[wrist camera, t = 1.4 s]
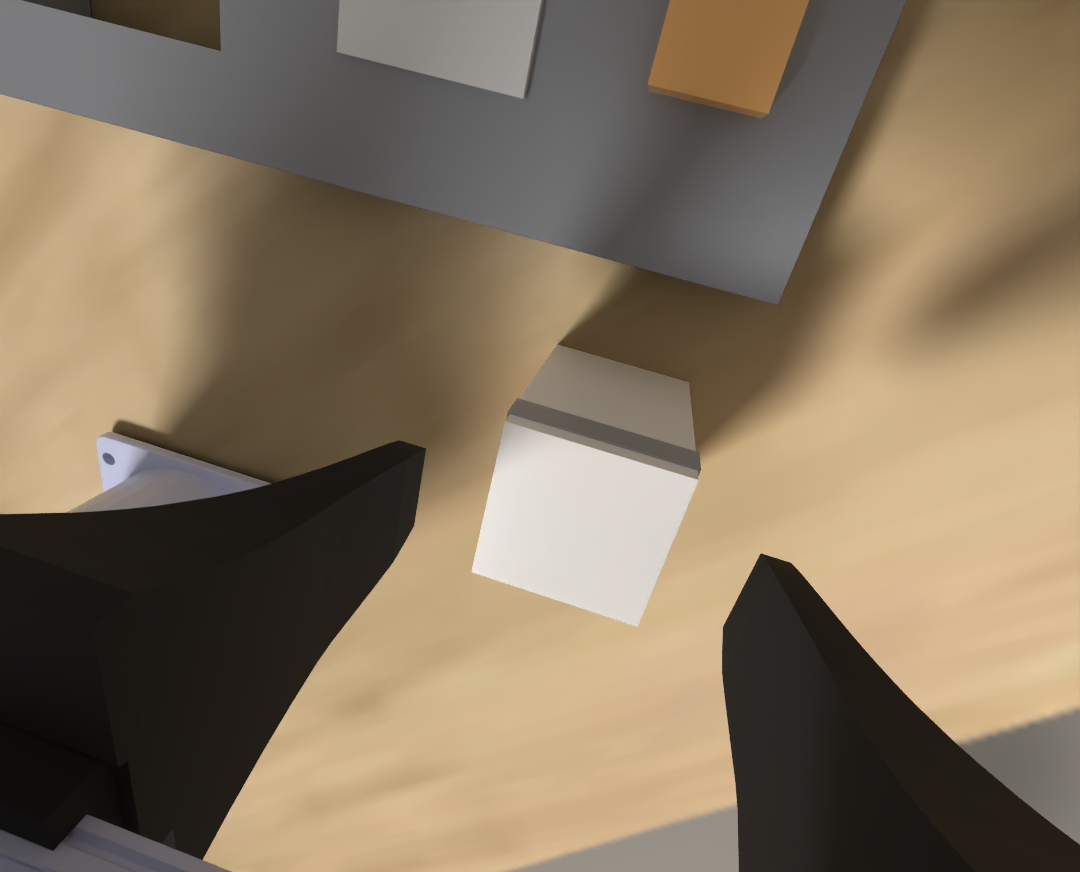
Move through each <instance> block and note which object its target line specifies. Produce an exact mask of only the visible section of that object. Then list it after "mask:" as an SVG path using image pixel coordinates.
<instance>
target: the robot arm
mask: <svg viewBox="0 0 1080 872" xmlns="http://www.w3.org/2000/svg"><path fill="white" fill-rule="evenodd" d="M96 444H97V451H98V458H99V465H100V472H101V478H102V485H103V493H101V494H99V495H98V496H96V497H94V498H92V499H90V500H89V501H87V502H85V503H83V504H81V505H80V506H78V507H76V508H74V509H72V510H71V511H69V512H67V513H39V514H0V872H231V871H228V870H226V869H223V868H221V867H218V866H216V865H213V864H211V863H208V862H206V861H203V858H204V856H205V854H206V852H207V851H208V849H209V847H210V845H211V843H212V841H213V839H214V838H215V836H216V834H217V832H218V830H219V828H220V827H221V825H222V823H223V821H224V819H225V817H226V816H227V814H228V812H229V810H230V808H231V806H232V805H233V803H234V801H235V799H236V798H237V796H238V794H239V792H240V791H241V789H242V787H243V785H244V784H245V782H246V780H247V778H248V777H249V775H250V773H251V771H252V770H253V768H254V766H255V764H256V763H257V761H258V759H259V757H260V756H261V754H262V752H263V750H264V749H265V747H266V745H267V744H268V742H269V740H270V739H271V737H272V735H273V734H274V732H275V730H276V729H277V727H278V725H279V724H280V722H281V720H282V719H283V717H284V715H285V713H286V712H287V710H288V708H289V707H290V705H291V703H292V702H293V700H294V699H295V697H296V695H297V694H298V692H299V691H300V689H301V687H302V686H303V684H304V683H305V681H306V679H307V678H308V676H309V675H310V673H311V671H312V670H313V668H314V667H315V665H316V663H317V662H318V660H319V659H320V657H321V656H322V655H323V653H324V652H325V650H326V649H327V648H328V646H329V645H330V643H331V642H332V641H333V639H334V638H335V637H336V635H337V634H338V633H339V632H340V630H341V629H342V628H343V626H344V625H345V624H346V623H347V621H348V620H349V619H350V617H351V616H352V615H353V614H354V612H355V611H356V610H357V608H358V607H359V606H360V605H361V603H362V602H363V601H364V600H365V598H366V597H367V596H368V594H369V593H370V592H371V591H372V589H373V588H374V587H375V585H376V584H377V583H378V581H379V580H380V579H381V577H382V576H383V575H384V574H385V572H386V571H387V570H388V568H389V567H390V566H391V564H392V563H393V561H394V560H395V558H396V556H397V555H398V553H399V551H400V550H401V548H402V546H403V544H404V543H405V541H406V539H407V537H408V536H409V534H410V532H411V530H412V528H413V527H414V522H415V516H416V509H417V503H418V496H419V490H420V483H421V477H422V470H423V464H424V457H425V451H426V449H425V448H422V447H419V446H416V445H413V444H409V443H406V442H403V441H400V440H399V441H395V442H392V443H389V444H386V445H383V446H381V447H378V448H375V449H373V450H370V451H367V452H365V453H362V454H359V455H357V456H354V457H351V458H348V459H346V460H343V461H340V462H338V463H335V464H332V465H329V466H327V467H324V468H321V469H318V470H314V471H311V472H308V473H305V474H302V475H299V476H295V477H292V478H289V479H286V480H283V481H280V482H276V483H272V484H271V483H268V482H265V481H262V480H259V479H256V478H253V477H250V476H246V475H243V474H240V473H237V472H234V471H231V470H228V469H225V468H222V467H219V466H216V465H213V464H209V463H206V462H203V461H200V460H197V459H194V458H191V457H188V456H185V455H182V454H179V453H176V452H172V451H169V450H166V449H163V448H160V447H157V446H154V445H151V444H148V443H145V442H142V441H139V440H135V439H132V438H129V437H126V436H123V435H120V434H117V433H114V432H108V433H105V434H103V435H101V436H99V437H98V438H97V443H96ZM722 675H723V685H724V693H725V702H726V710H727V718H728V726H729V734H730V742H731V750H732V758H733V766H734V774H735V782H736V794H737V807H738V847H739V872H1080V845H1079V844H1078V843H1077V842H1075V841H1074V840H1072V839H1071V838H1070V837H1069V836H1067V835H1066V834H1064V833H1063V832H1062V831H1061V830H1059V829H1058V828H1057V827H1055V826H1054V825H1053V824H1051V823H1050V822H1049V821H1048V820H1046V819H1045V818H1044V817H1043V816H1041V815H1040V814H1039V813H1038V812H1036V811H1035V810H1034V809H1033V808H1031V807H1030V806H1029V805H1028V804H1026V803H1025V802H1024V801H1023V800H1021V799H1020V798H1019V797H1018V796H1016V795H1015V794H1014V793H1013V792H1012V791H1011V790H1009V789H1008V788H1007V787H1006V786H1005V785H1003V784H1002V783H1001V782H1000V781H998V779H996V778H995V777H994V776H993V775H992V774H990V773H989V772H988V771H987V770H986V769H985V768H983V767H982V766H981V765H980V764H979V763H977V762H976V761H975V760H974V759H973V758H972V757H971V756H970V755H968V754H967V753H966V752H965V751H964V750H963V749H962V748H961V747H959V746H958V745H957V744H956V743H955V742H954V741H953V740H952V739H951V738H950V737H949V736H948V735H947V734H946V733H944V732H943V731H942V730H941V729H940V728H939V727H938V726H937V725H936V724H935V723H934V722H933V721H932V720H931V719H930V718H929V717H928V716H927V715H926V714H925V713H924V712H923V711H921V710H920V709H919V708H918V707H917V706H916V705H915V704H914V703H913V702H912V701H911V700H910V699H909V698H908V696H907V695H906V694H905V693H904V692H903V691H902V690H901V689H900V688H899V687H898V686H897V685H896V684H895V683H894V682H893V681H892V680H891V678H890V677H889V676H888V675H887V674H886V673H885V672H884V671H883V670H882V669H881V668H880V667H879V665H878V664H877V663H876V662H875V661H874V660H873V659H872V658H871V657H870V655H869V654H868V653H867V652H866V651H865V650H864V649H863V647H862V646H861V645H860V644H859V643H858V642H857V640H856V639H855V638H854V637H853V636H852V635H851V633H850V632H849V631H848V630H847V629H846V627H845V626H844V625H843V624H842V623H841V621H840V620H839V619H838V618H837V617H836V615H835V614H834V613H833V612H832V610H831V609H830V608H829V607H828V606H827V604H826V603H825V602H824V601H823V599H822V598H821V597H820V596H819V594H818V593H817V592H816V591H815V590H814V588H813V587H812V586H811V585H810V584H809V582H808V581H807V580H806V579H805V578H804V576H803V575H802V574H801V573H800V572H799V571H798V570H797V569H796V568H795V567H794V566H793V564H792V563H789V562H786V561H783V560H780V559H777V558H773V557H770V556H767V555H764V554H760V556H759V558H758V560H757V562H756V564H755V566H754V568H753V570H752V572H751V574H750V575H749V577H748V579H747V581H746V583H745V585H744V587H743V589H742V591H741V593H740V595H739V597H738V599H737V601H736V603H735V605H734V607H733V609H732V611H731V612H730V614H729V616H728V618H727V620H726V622H725V624H724V626H723V646H722Z"/></svg>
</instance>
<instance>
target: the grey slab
mask: <svg viewBox="0 0 1080 872" xmlns="http://www.w3.org/2000/svg"><path fill="white" fill-rule="evenodd" d="M219 2H220V43H221V51H219V50H215V49H211V48H207V47H203V46H199V45H195V44H191V43H187V42H183V41H179V40H176V39H172V38H168V37H164V36H160V35H156V34H152V33H148V32H144V31H140V30H136V29H132V28H128V27H125V26H121V25H117V24H113V23H109V22H105V21H101V20H97V19H93V18H91V9H90V0H0V94H3V95H6V96H10V97H14V98H17V99H21V100H25V101H28V102H32V103H36V104H39V105H43V106H47V107H50V108H54V109H58V110H61V111H65V112H69V113H72V114H76V115H80V116H83V117H87V118H91V119H94V120H98V121H102V122H105V123H109V124H113V125H116V126H120V127H124V128H127V129H131V130H135V131H139V132H142V133H146V134H150V135H153V136H157V137H161V138H164V139H168V140H172V141H175V142H179V143H183V144H186V145H190V146H194V147H197V148H201V149H205V150H208V151H212V152H216V153H219V154H223V155H227V156H230V157H234V158H238V159H241V160H245V161H249V162H252V163H256V164H260V165H264V166H267V167H271V168H275V169H278V170H282V171H286V172H289V173H293V174H297V175H300V176H304V177H308V178H311V179H315V180H319V181H322V182H326V183H330V184H333V185H337V186H341V187H344V188H348V189H352V190H355V191H359V192H363V193H366V194H370V195H374V196H377V197H381V198H385V199H389V200H392V201H396V202H400V203H403V204H407V205H411V206H414V207H418V208H422V209H425V210H429V211H433V212H436V213H440V214H444V215H447V216H451V217H455V218H458V219H462V220H466V221H469V222H473V223H477V224H480V225H484V226H488V227H491V228H495V229H499V230H502V231H506V232H510V233H514V234H517V235H521V236H525V237H528V238H532V239H536V240H539V241H543V242H547V243H550V244H554V245H558V246H561V247H565V248H569V249H572V250H576V251H580V252H583V253H587V254H591V255H594V256H598V257H602V258H605V259H609V260H613V261H616V262H620V263H624V264H627V265H631V266H635V267H639V268H642V269H646V270H650V271H653V272H657V273H661V274H664V275H668V276H672V277H675V278H679V279H683V280H686V281H690V282H694V283H697V284H701V285H705V286H708V287H712V288H716V289H719V290H723V291H727V292H730V293H734V294H738V295H741V296H745V297H749V298H752V299H756V300H760V301H763V302H767V303H771V304H775V305H778V303H779V301H780V299H781V296H782V294H783V291H784V289H785V287H786V284H787V282H788V280H789V277H790V275H791V273H792V270H793V268H794V265H795V263H796V261H797V258H798V256H799V254H800V251H801V249H802V246H803V244H804V242H805V239H806V237H807V235H808V232H809V230H810V228H811V225H812V223H813V220H814V218H815V216H816V213H817V211H818V209H819V206H820V204H821V202H822V199H823V197H824V194H825V192H826V190H827V187H828V185H829V183H830V180H831V178H832V175H833V173H834V171H835V168H836V166H837V164H838V161H839V159H840V157H841V154H842V152H843V149H844V147H845V145H846V142H847V140H848V138H849V135H850V133H851V131H852V128H853V126H854V123H855V121H856V119H857V116H858V114H859V112H860V109H861V107H862V104H863V102H864V100H865V97H866V95H867V93H868V90H869V88H870V86H871V83H872V81H873V78H874V76H875V74H876V71H877V69H878V67H879V64H880V62H881V60H882V57H883V55H884V52H885V50H886V48H887V45H888V43H889V41H890V38H891V36H892V33H893V31H894V29H895V26H896V24H897V22H898V19H899V17H900V15H901V12H902V10H903V7H904V5H905V3H906V0H219Z"/></svg>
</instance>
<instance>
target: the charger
mask: <svg viewBox="0 0 1080 872" xmlns="http://www.w3.org/2000/svg"><path fill="white" fill-rule="evenodd" d="M700 471H701V465H700V456H699V452H697V451H696V448H695V438H694V428H693V417H692V407H691V397H690V387H689V382H686V381H683V380H679V379H676V378H673V377H669V376H666V375H662V374H659V373H655V372H652V371H648V370H645V369H641V368H638V367H634V366H631V365H627V364H624V363H620V362H617V361H613V360H610V359H607V358H603V357H600V356H596V355H593V354H589V353H586V352H582V351H579V350H575V349H572V348H568V347H565V346H561V345H558V344H557V345H556V347H555V348H554V350H553V351H552V353H551V354H550V356H549V357H548V359H547V360H546V362H545V363H544V365H543V366H542V368H541V369H540V371H539V372H538V373H537V375H536V376H535V378H534V379H533V381H532V382H531V384H530V385H529V387H528V388H527V390H526V391H525V393H524V394H523V396H522V397H521V399H519V398H517V399H516V401H515V402H514V404H513V405H512V406H511V408H510V409H509V411H508V414H507V419H506V421H505V424H504V428H503V433H502V437H501V442H500V446H499V451H498V455H497V460H496V464H495V469H494V473H493V477H492V482H491V486H490V491H489V495H488V500H487V504H486V509H485V513H484V518H483V522H482V527H481V531H480V536H479V540H478V545H477V549H476V554H475V558H474V563H473V567H472V572H473V573H476V574H479V575H482V576H485V577H488V578H491V579H494V580H497V581H500V582H503V583H506V584H509V585H512V586H515V587H518V588H521V589H524V590H527V591H531V592H534V593H537V594H540V595H543V596H546V597H549V598H552V599H555V600H558V601H561V602H564V603H567V604H570V605H573V606H576V607H579V608H582V609H585V610H588V611H591V612H594V613H597V614H600V615H603V616H606V617H610V618H613V619H616V620H619V621H622V622H625V623H628V624H631V625H634V626H638V624H639V622H640V619H641V617H642V614H643V612H644V610H645V607H646V605H647V603H648V600H649V598H650V595H651V593H652V591H653V588H654V586H655V583H656V581H657V579H658V576H659V574H660V571H661V569H662V567H663V564H664V562H665V559H666V557H667V555H668V552H669V550H670V547H671V545H672V543H673V540H674V538H675V535H676V533H677V531H678V528H679V526H680V524H681V521H682V519H683V516H684V514H685V512H686V509H687V507H688V504H689V502H690V500H691V497H692V495H693V492H694V490H695V488H696V485H697V483H698V480H699V479H698V475H699V473H700Z"/></svg>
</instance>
